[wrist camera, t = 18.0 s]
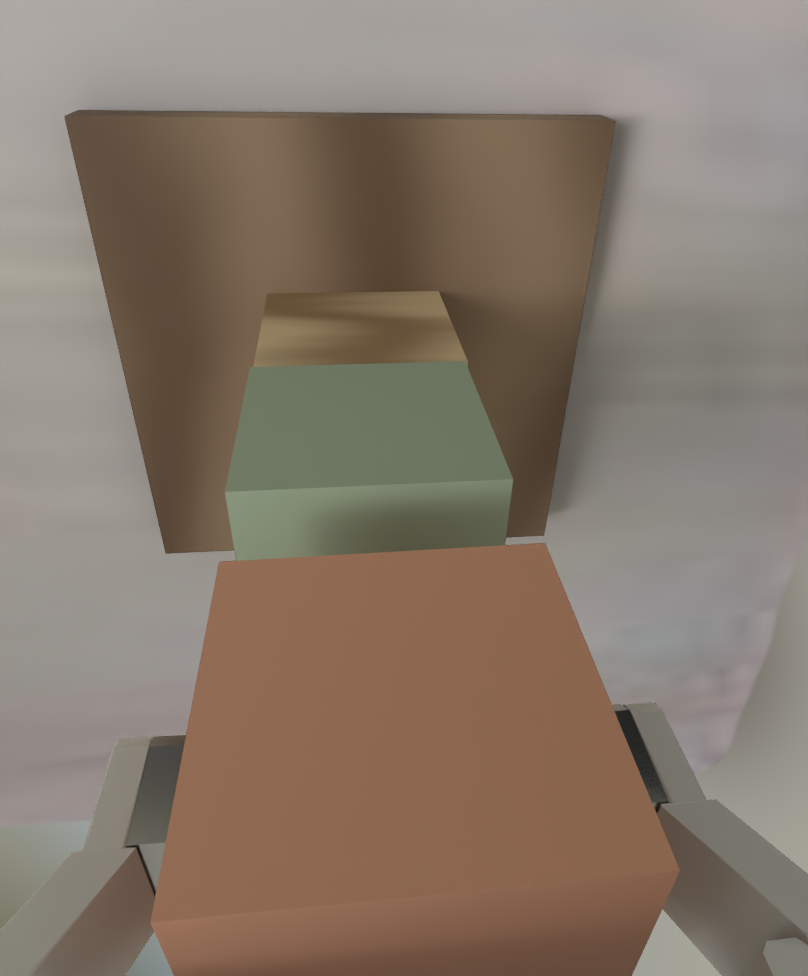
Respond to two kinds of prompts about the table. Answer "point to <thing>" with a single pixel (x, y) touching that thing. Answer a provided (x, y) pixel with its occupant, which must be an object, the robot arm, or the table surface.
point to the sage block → (364, 462)
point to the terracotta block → (405, 779)
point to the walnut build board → (338, 271)
